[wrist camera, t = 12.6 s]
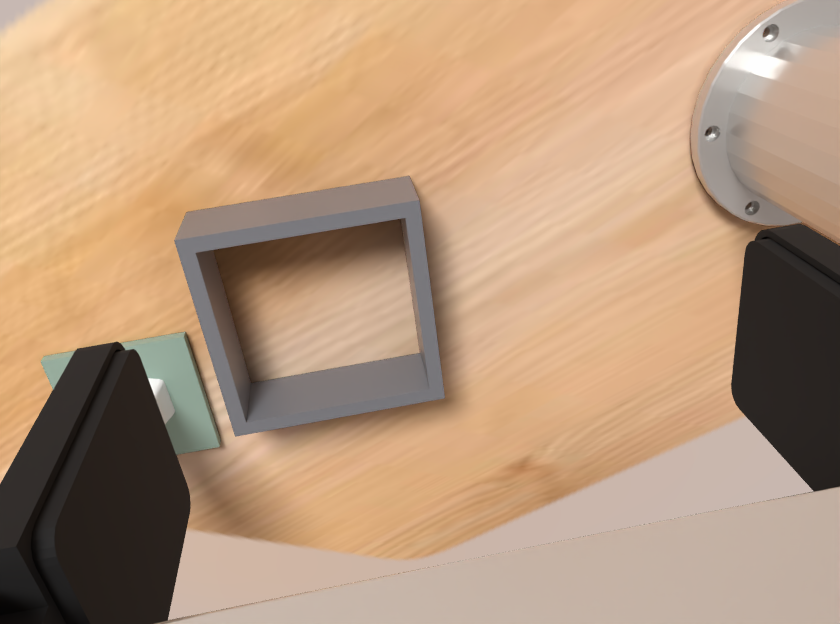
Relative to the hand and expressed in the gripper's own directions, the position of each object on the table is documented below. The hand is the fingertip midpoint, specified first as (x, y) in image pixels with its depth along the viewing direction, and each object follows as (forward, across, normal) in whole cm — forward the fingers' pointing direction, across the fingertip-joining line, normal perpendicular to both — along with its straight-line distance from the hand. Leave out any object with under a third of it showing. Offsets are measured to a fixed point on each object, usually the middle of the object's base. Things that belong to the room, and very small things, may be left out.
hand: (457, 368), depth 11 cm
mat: (+28, +16, +17) cm, 37 cm away
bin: (+28, +4, +12) cm, 31 cm away
